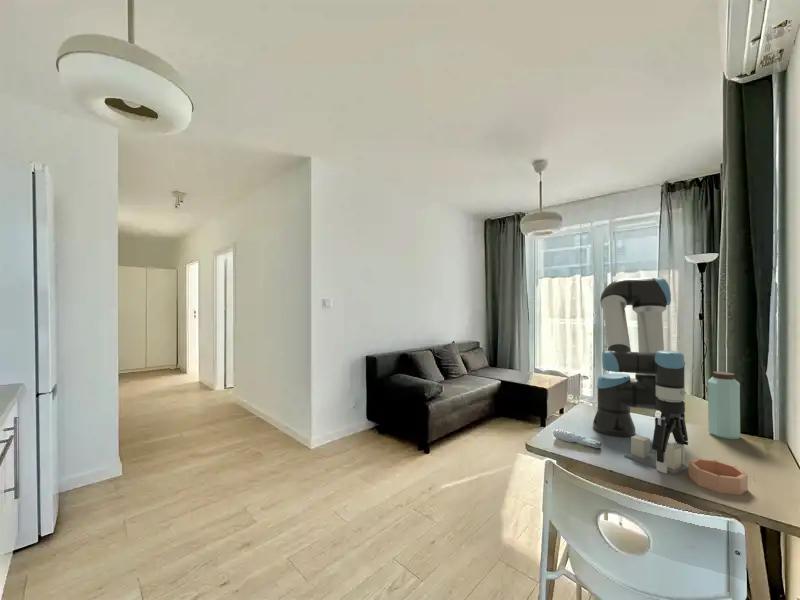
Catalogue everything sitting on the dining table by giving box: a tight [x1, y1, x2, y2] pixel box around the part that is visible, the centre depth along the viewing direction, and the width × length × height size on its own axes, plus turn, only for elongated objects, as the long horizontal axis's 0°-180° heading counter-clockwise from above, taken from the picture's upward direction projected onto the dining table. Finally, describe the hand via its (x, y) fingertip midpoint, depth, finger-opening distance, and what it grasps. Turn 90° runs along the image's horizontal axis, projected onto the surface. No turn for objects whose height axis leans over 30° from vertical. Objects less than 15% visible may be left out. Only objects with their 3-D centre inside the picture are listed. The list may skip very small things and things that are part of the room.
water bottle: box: [707, 371, 741, 440], centre depth 140 cm, size 10×10×25 cm
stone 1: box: [630, 434, 651, 458], centre depth 122 cm, size 4×4×6 cm
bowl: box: [688, 458, 749, 496], centre depth 105 cm, size 12×12×4 cm
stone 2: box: [665, 443, 681, 470], centre depth 114 cm, size 4×4×6 cm
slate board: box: [623, 451, 689, 476], centre depth 118 cm, size 15×9×1 cm, turn 29°
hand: (670, 467), depth 114 cm, fingers open, 10 cm apart
